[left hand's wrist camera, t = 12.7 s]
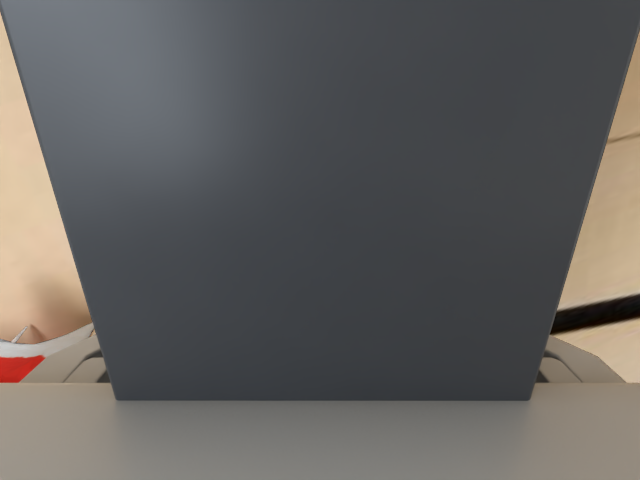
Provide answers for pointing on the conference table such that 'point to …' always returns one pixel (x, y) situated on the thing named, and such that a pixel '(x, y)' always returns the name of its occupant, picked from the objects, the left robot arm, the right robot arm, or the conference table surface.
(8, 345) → the fish
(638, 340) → the conference table surface
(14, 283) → the conference table surface
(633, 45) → the box
